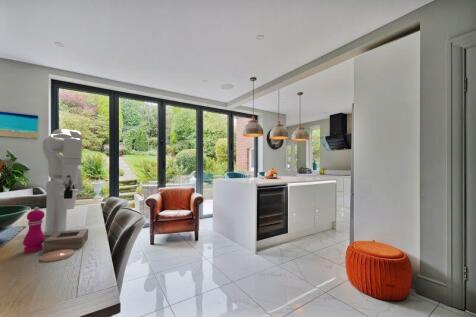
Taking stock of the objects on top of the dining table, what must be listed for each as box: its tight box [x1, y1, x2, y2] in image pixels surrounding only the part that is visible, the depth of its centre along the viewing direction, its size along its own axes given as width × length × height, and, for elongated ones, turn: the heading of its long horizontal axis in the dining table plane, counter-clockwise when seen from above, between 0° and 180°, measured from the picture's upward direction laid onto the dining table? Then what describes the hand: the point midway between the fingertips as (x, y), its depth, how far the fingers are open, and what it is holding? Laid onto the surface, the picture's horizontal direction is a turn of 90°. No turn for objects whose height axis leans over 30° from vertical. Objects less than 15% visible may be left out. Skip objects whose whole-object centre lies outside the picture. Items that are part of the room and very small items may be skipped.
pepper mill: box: [22, 206, 46, 254], centre depth 97 cm, size 7×7×20 cm
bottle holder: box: [42, 228, 89, 254], centre depth 104 cm, size 16×14×5 cm
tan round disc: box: [39, 249, 75, 263], centre depth 90 cm, size 11×11×1 cm
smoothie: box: [62, 186, 78, 210], centre depth 105 cm, size 6×6×14 cm
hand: (69, 197), depth 104 cm, fingers closed on smoothie, 6 cm apart
